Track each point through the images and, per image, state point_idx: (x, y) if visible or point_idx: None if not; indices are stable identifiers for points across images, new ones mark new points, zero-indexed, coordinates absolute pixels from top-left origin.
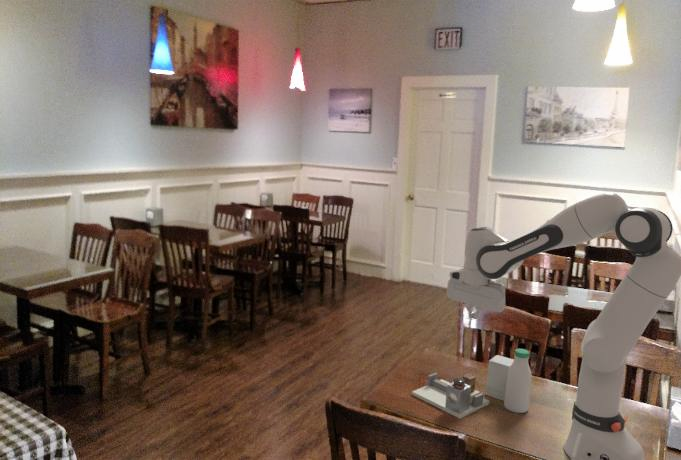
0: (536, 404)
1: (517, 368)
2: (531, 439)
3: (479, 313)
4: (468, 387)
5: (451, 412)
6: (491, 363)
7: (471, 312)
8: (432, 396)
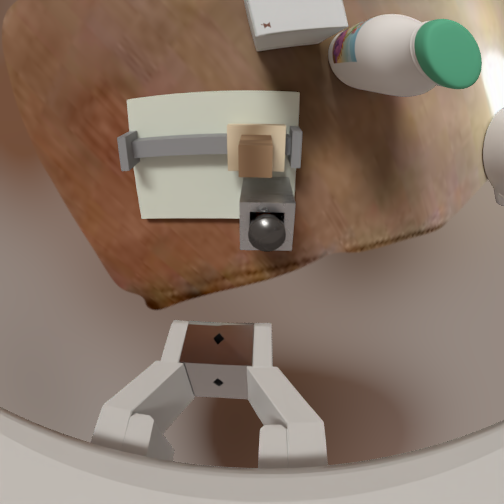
0: (381, 5)
1: (421, 88)
2: (437, 175)
3: (278, 372)
4: (294, 217)
5: None
6: (269, 36)
7: (195, 388)
8: (185, 198)
